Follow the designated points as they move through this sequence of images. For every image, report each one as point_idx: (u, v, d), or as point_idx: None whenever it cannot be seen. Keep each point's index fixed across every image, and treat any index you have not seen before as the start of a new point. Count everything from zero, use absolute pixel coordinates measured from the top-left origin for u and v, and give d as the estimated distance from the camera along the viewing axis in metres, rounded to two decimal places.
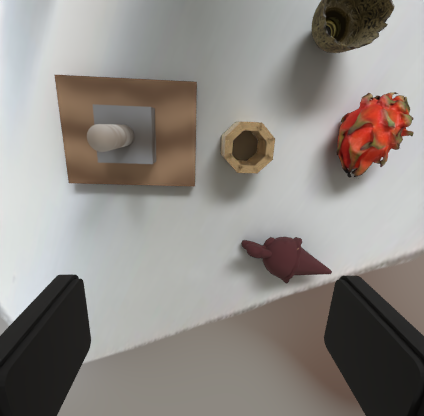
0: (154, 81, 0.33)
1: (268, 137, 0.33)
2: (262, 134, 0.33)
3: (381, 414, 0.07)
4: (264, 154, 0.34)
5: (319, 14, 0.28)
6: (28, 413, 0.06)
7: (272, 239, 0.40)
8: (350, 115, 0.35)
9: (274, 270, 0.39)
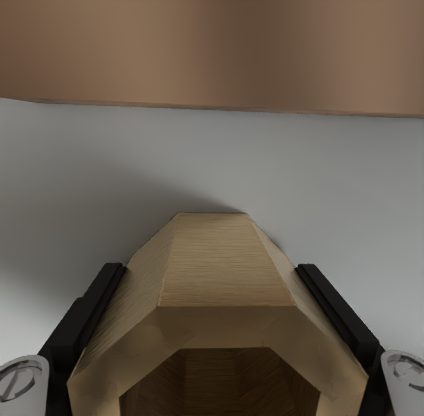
0: None
1: None
2: None
3: None
4: None
5: None
6: None
7: None
8: None
9: None
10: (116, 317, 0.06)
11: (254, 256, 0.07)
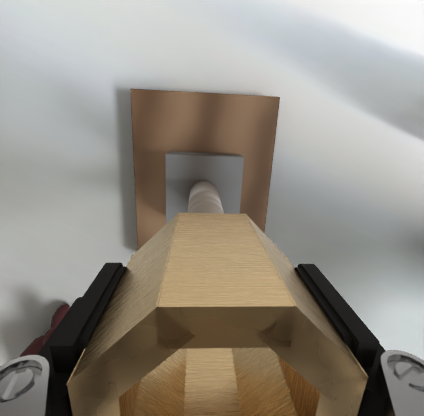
0: (263, 220, 0.28)
1: None
2: None
3: None
4: None
5: None
6: None
7: None
8: None
9: None
10: (116, 317, 0.06)
11: (254, 256, 0.07)
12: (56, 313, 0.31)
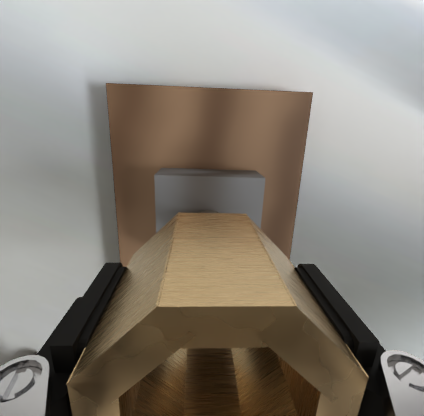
0: (287, 255, 0.21)
1: None
2: None
3: None
4: None
5: None
6: None
7: None
8: None
9: None
10: (116, 317, 0.06)
11: (254, 256, 0.07)
12: None
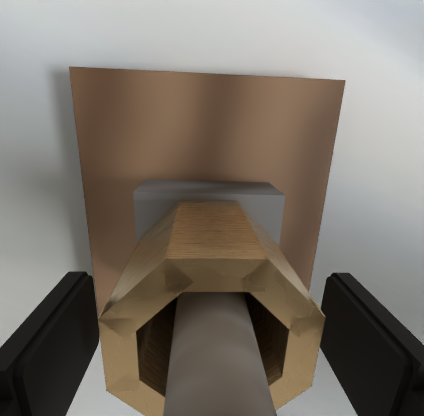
0: (306, 287, 0.17)
1: None
2: None
3: (368, 407, 0.07)
4: None
5: None
6: (44, 404, 0.06)
7: None
8: None
9: None
10: (133, 274, 0.08)
11: (241, 230, 0.09)
12: None
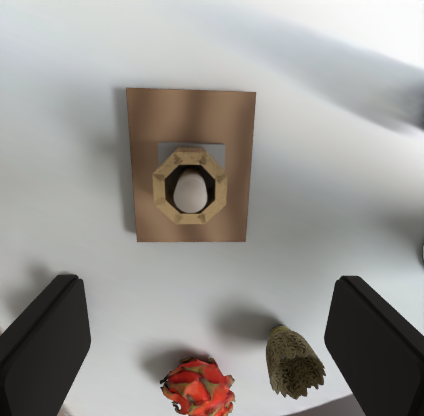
0: (246, 201, 0.32)
1: (206, 215, 0.23)
2: (210, 206, 0.23)
3: (381, 414, 0.07)
4: (182, 211, 0.24)
5: (294, 346, 0.34)
6: (28, 413, 0.06)
7: None
8: (216, 371, 0.39)
9: None
10: None
11: (200, 150, 0.23)
12: None
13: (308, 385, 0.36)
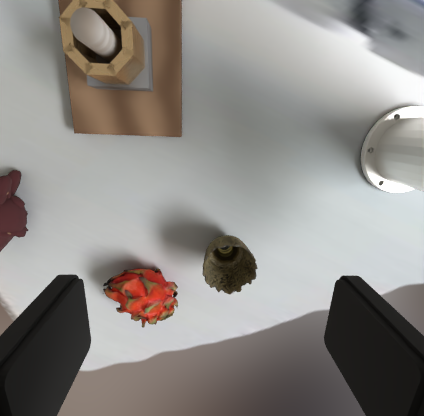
0: (179, 93, 0.33)
1: (115, 65, 0.24)
2: (118, 56, 0.24)
3: (381, 414, 0.07)
4: None
5: (228, 241, 0.35)
6: (28, 413, 0.06)
7: (21, 205, 0.36)
8: (158, 275, 0.40)
9: None
10: None
11: None
12: (7, 175, 0.36)
13: (243, 283, 0.37)
